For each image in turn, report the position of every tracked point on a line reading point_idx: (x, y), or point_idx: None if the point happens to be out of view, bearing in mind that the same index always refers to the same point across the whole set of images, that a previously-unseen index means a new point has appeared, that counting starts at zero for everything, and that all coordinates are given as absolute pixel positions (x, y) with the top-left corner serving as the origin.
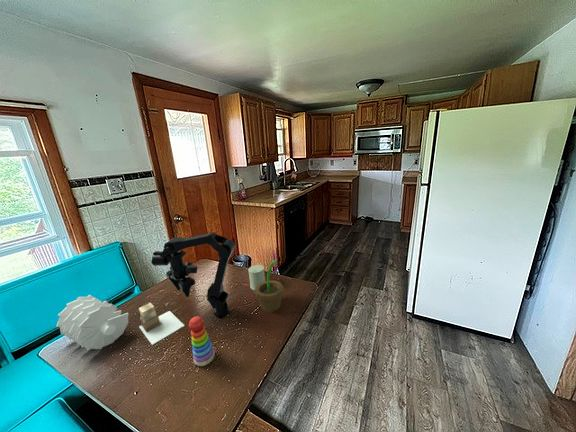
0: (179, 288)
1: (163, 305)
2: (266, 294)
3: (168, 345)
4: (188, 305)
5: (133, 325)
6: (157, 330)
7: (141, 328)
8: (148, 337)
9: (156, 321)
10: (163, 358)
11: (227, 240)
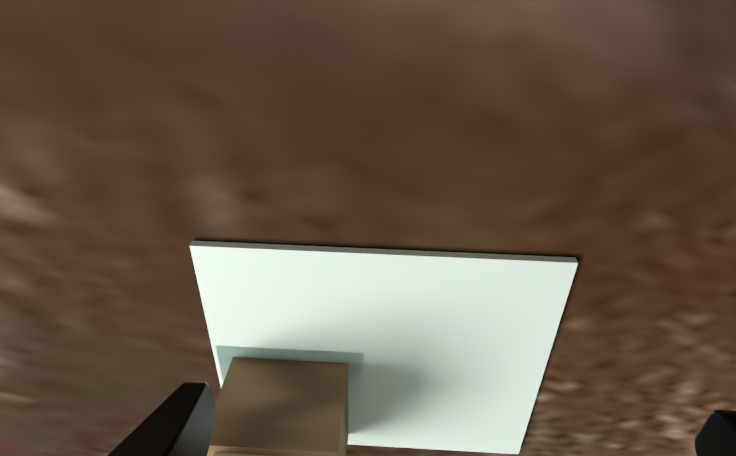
0: (193, 437)
1: (19, 233)
2: None
3: (639, 404)
4: (243, 48)
5: None
6: (404, 396)
7: None
8: (422, 444)
9: (343, 421)
10: None
11: None
